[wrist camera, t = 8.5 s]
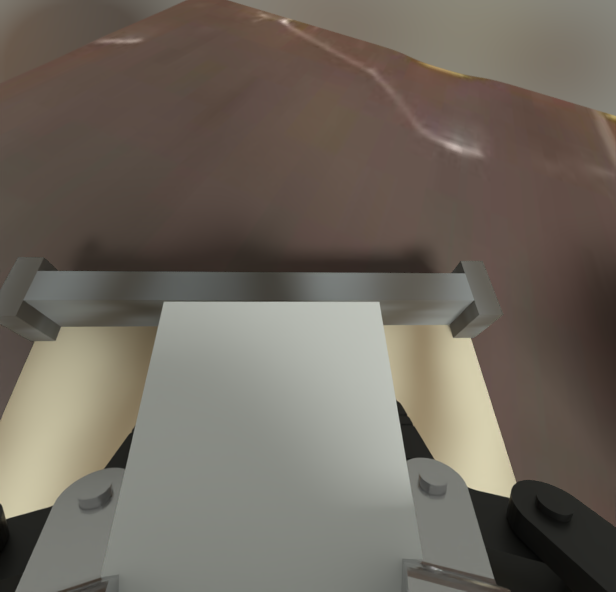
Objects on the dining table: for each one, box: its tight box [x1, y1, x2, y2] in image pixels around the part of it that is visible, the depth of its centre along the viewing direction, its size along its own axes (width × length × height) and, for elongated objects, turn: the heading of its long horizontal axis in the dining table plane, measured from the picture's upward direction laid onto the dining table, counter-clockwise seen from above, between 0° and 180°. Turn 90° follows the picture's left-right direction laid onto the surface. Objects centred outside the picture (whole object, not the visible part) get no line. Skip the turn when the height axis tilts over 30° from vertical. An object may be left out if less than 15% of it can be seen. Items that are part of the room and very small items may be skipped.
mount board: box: [0, 257, 516, 519], centre depth 15 cm, size 23×14×4 cm, turn 92°
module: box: [101, 302, 423, 592], centre depth 9 cm, size 4×6×9 cm
